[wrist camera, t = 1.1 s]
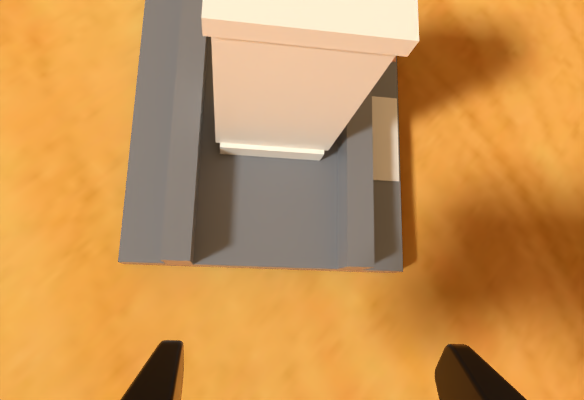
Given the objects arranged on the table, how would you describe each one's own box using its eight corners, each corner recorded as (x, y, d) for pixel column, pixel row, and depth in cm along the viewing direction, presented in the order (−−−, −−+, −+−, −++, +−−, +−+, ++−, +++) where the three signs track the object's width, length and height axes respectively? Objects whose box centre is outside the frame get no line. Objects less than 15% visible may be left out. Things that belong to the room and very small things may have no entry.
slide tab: (327, 161, 22) (419, 41, 12) (211, 153, 22) (201, 17, 11) (328, 107, 23) (415, -51, 13) (214, 98, 22) (208, -80, 12)
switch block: (393, 272, 23) (418, 269, 20) (123, 263, 21) (108, 258, 18) (387, -9, 26) (407, -46, 24) (154, -37, 25) (145, -82, 22)
